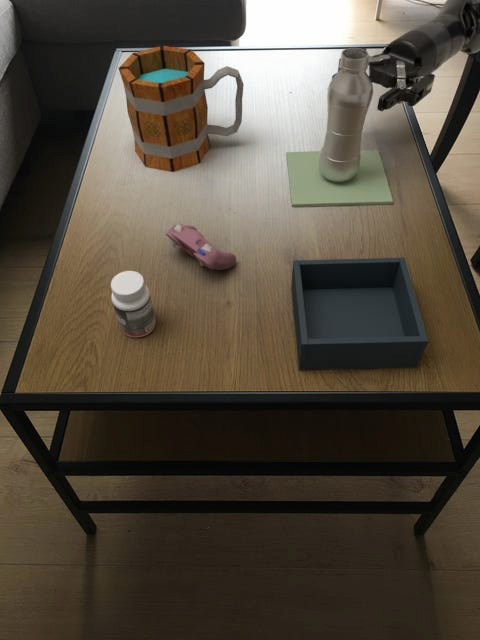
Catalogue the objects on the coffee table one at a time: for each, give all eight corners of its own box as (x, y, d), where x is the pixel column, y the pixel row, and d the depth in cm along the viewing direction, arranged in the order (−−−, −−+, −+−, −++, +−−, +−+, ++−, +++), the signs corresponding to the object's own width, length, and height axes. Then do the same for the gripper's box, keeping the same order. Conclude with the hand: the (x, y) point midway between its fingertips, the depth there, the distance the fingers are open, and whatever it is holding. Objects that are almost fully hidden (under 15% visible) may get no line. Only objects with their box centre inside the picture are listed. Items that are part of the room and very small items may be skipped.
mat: (377, 152, 94) (378, 149, 94) (392, 204, 85) (393, 201, 85) (286, 154, 94) (286, 151, 94) (291, 207, 86) (292, 204, 85)
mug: (133, 174, 92) (115, 90, 80) (136, 129, 100) (121, 48, 89) (247, 166, 92) (246, 82, 81) (242, 123, 101) (240, 41, 89)
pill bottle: (117, 316, 73) (103, 274, 66) (151, 306, 73) (140, 263, 67) (125, 343, 70) (111, 301, 63) (160, 332, 71) (150, 290, 64)
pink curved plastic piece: (176, 252, 82) (154, 232, 76) (195, 229, 82) (174, 206, 76) (221, 285, 78) (202, 266, 71) (241, 260, 78) (223, 239, 71)
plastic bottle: (320, 161, 92) (332, 41, 76) (360, 165, 91) (381, 44, 75) (314, 184, 88) (327, 62, 72) (356, 189, 87) (378, 67, 71)
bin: (396, 285, 75) (404, 257, 70) (417, 367, 66) (428, 341, 62) (291, 288, 75) (293, 260, 71) (298, 370, 66) (301, 344, 62)
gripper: (384, 17, 87) (321, 54, 80) (463, 44, 81) (402, 86, 74) (376, 63, 93) (316, 101, 86) (449, 92, 87) (391, 135, 80)
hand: (356, 94), depth 80 cm, fingers open, 8 cm apart
